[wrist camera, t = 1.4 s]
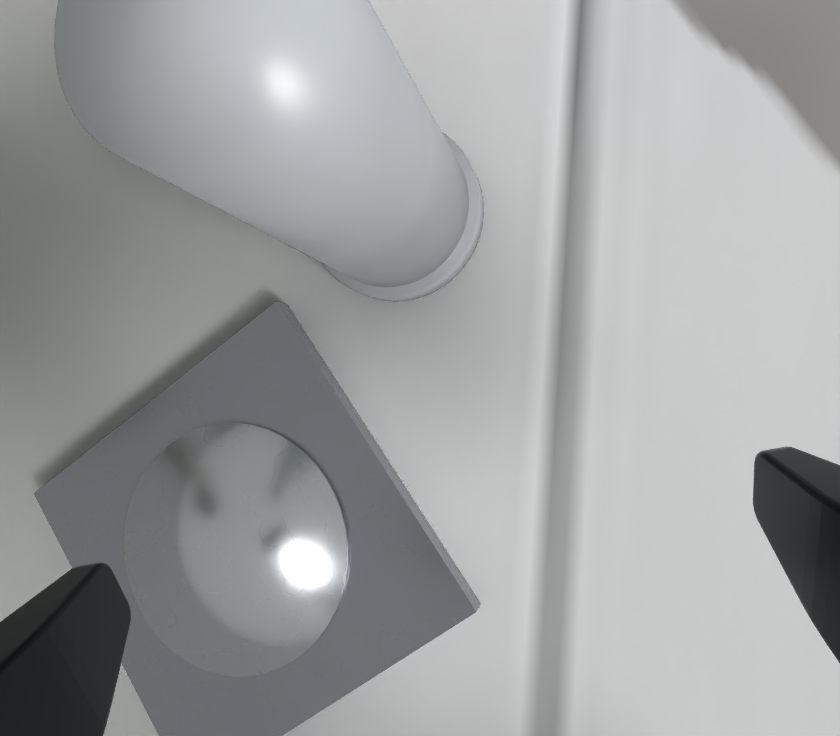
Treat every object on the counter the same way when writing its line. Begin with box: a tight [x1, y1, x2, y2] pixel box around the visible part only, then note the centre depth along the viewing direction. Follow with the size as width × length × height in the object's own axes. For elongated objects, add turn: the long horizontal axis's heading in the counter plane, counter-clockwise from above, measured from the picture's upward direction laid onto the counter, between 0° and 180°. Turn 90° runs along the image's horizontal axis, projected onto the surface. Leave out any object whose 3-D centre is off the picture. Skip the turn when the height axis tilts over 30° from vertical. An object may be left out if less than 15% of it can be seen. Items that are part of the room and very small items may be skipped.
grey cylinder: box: [54, 0, 484, 301], centre depth 16 cm, size 6×6×12 cm
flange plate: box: [34, 301, 481, 736], centre depth 22 cm, size 12×12×1 cm
